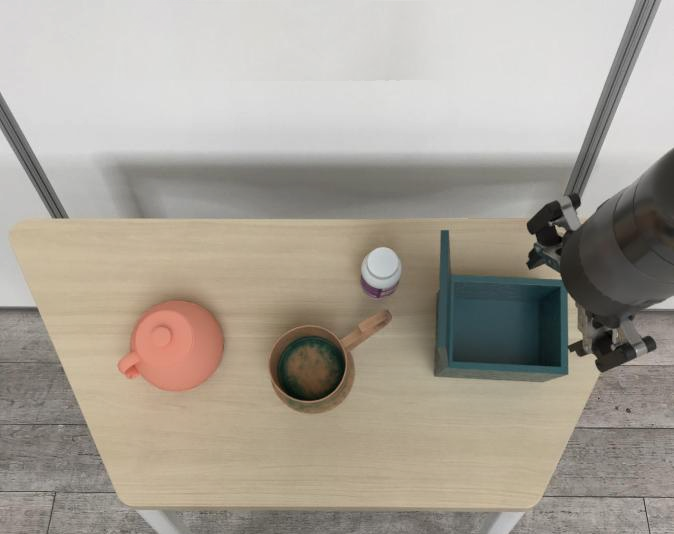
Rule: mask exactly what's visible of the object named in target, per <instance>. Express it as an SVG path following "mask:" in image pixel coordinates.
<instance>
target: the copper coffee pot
mask: <svg viewBox="0 0 674 534" xmlns="http://www.w3.org/2000/svg"><path fill="white" fill-rule="evenodd" d="M392 320H393V315H392V313H391V312H390V311H389V309H388V308H387V309H384V310H381V311H379V312H377V313H376V314H374V315H372V316H370V317H368V318H367V319H365V320H363V321H361V322H360V323H358V324H357V327H356V328H355V329H354V330H353V331H351V332H350V333H349V334H347V335H346V336H345V337H342V338H341V339H340V338H339V337H338V336H337V335H336V334H335V333H334V332H333V331H331V330H329V329H328V328H325V327H323V326H321V325H314V324H305V325H300V326H296V327H293V328H291V329H289V330H288V331H286V332H284V333H283V334H282V335H281V336H280V337H278V339H277V340H276V341H275V343H274V344H273V346H272V347H271V349H270V352H269V355H268V360H267V369H268V374H269V378H270V381H271V385H272V388H273V390H274V392H275V394H276V396H277V397H278V399H279V400H280V401H281V402H282V403H283V404H285V405H286V406H287V407H288V408H290V409H292V410H294V411H296V412H297V413H302V414H308V415H317V414H323V413H326V412H329V411H332V410H333V409H335V408H336V407H338V406H339V405H340V404H342V403H343V402H344V400H345V399H346V398H347V397H348V395H349V393H350V392H351V390H352V387H353V385H354V381H355V375H356V373H355V370H356V369H355V362H354V358H353V355H352V354H351V351H353V350H354V349H355V348H357V347H358V346H359V345H361V344H362V343H364V342H365V341H367V340H368V339H369V338H371V337H372V336H374V335H375V334H377V333H379V332H380V331H381V330H383V329H384V328H386V327H387V326H388V325H389V324H390V322H391V321H392Z"/></svg>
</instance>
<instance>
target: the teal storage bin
mask: <svg viewBox="0 0 674 534" xmlns="http://www.w3.org/2000/svg"><path fill="white" fill-rule="evenodd" d="M568 295H569V293H568V292H567V290H566V288H565V286H564V284H563V281H562V279H559V278H540V277H539V278H536V277H535V278H534V277H514V276H513V277H512V276H493V275H472V274H453V273H451V309H450V351H449V368H442V363H441V359H440V355H439V351H438V315H439V289H438V290H437V292H436V298H435V299H436V301H435V333H434V334H435V338H434V339H435V340H434V370H433V371H434V372H433V373H434V374H433V375H434V378H451V379H452V378H453V379H468V380H469V379H470V380H487V381H488V380H489V381H490V380H491V381H507V382H508V381H510V382H528V383H546V382H549V381H552V380H556V379H559V378H562V377H565V376H568V375H569V349H568V347H567V346H568V345H569V302H568V301H569V296H568Z"/></svg>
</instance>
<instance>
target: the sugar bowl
mask: <svg viewBox="0 0 674 534" xmlns="http://www.w3.org/2000/svg"><path fill="white" fill-rule="evenodd" d="M223 353H224V336H223V333H222V330H221V327H220V325H219V323H218V321H217V320H216V319H215V317H214V316H213V315H212V314H211V312H209V311H208V310H206V309H205V308H204V307H202V306H201V305H198V304H196V303H194V302H191V301H186V300H169V301H165V302H160V303H158V304H156V305H154V306H152V307H150V308H149V309H148V310H146V311H145V312H144V313H143V314H142V315H141V316H140V317H139V318H138V320H137V321H136V323H135V324H134V326H133V329H132V331H131V334H130V339H129V353H128V354H126V355H125V356H123V357H122V358H120V360H119V361H118V362H117V365H116V367H117V369H118V371H119V372H120V373H121V374H122V375H124V377H125V378H127V379H128V380H133V379H135V378H138V377H139V376H140V377H142V378H143V379H144V380H145V381H146V382H147V383H149V384H150V385H151V386H153V387H155V388H157V389H160V390H163V391H166V392H174V393H175V392H176V393H177V392H178V393H179V392H185V391H190V390H193V389H195V388H197V387H199V386H200V385H202V384H204V383H205V382H206V381H208V379H210V378H211V377H212V376H213V375H214V373H215V372H216V371H217V369H218V367H219V366H220V364H221V360H222V358H223Z"/></svg>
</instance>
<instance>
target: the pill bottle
mask: <svg viewBox="0 0 674 534" xmlns="http://www.w3.org/2000/svg"><path fill="white" fill-rule="evenodd" d="M402 273H403V265H402V261H401V259H400V258H399V256H398V254H397V253H396V252H395V251H394V250H393V249H391V248H389V247H385V246H381V247H376V248H374V249H372V250H371V251H370V252H368V253H367V254H366V255H365V257H364V258H363V260H362V263H361V265H360V277H359V279H360V280H359V283H360V284H359V285H360V288H361V291H362V292H363V293H364V294H365V295H366V296H367V297H369V298H370V299H372V300H375V301H376V300H377V301H379V300H385V299H388V298H389V297H391V296H392V295H393V294H394V293H395V292H396V291H397V289H398V286H399V284H400V280H401V277H402Z"/></svg>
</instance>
